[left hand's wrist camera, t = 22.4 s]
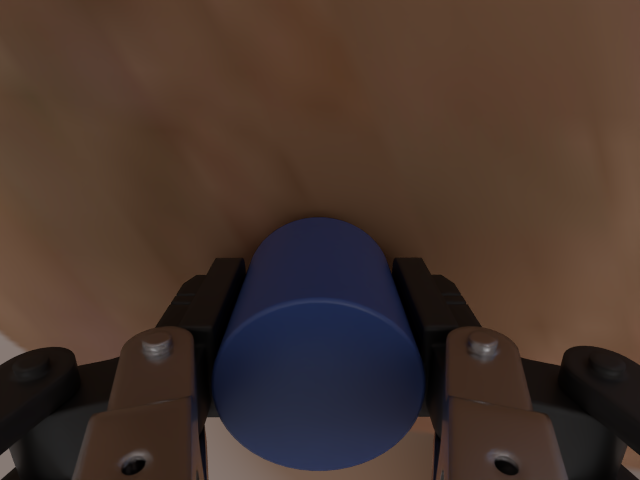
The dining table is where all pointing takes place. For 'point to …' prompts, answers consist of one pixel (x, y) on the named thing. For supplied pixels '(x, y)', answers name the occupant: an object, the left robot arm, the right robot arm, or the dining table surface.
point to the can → (318, 351)
